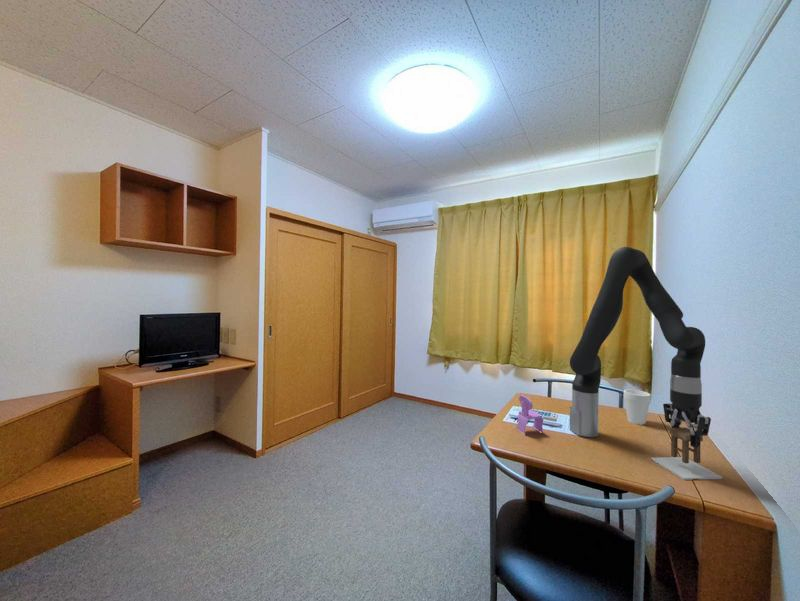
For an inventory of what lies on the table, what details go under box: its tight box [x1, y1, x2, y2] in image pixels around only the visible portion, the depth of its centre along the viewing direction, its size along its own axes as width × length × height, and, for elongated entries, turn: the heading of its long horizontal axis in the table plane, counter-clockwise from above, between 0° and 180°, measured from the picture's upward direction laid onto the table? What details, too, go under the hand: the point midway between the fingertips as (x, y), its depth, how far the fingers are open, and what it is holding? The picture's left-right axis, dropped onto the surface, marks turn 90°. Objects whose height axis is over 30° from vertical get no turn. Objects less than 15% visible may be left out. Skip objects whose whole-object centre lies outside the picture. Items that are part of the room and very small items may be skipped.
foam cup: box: [623, 388, 652, 426], centre depth 139 cm, size 10×9×13 cm
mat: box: [650, 456, 723, 481], centre depth 101 cm, size 12×12×1 cm
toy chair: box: [515, 394, 544, 435], centre depth 129 cm, size 8×9×15 cm
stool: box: [668, 426, 704, 464], centre depth 101 cm, size 6×6×9 cm
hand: (685, 441), depth 101 cm, fingers closed on stool, 5 cm apart
